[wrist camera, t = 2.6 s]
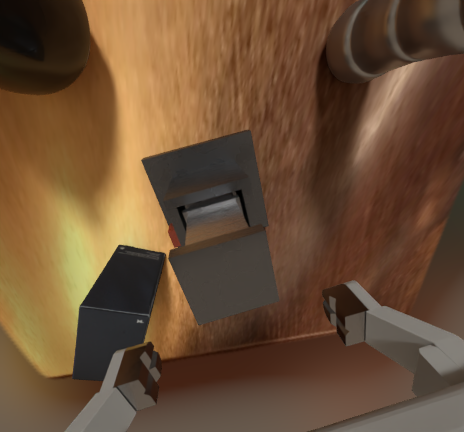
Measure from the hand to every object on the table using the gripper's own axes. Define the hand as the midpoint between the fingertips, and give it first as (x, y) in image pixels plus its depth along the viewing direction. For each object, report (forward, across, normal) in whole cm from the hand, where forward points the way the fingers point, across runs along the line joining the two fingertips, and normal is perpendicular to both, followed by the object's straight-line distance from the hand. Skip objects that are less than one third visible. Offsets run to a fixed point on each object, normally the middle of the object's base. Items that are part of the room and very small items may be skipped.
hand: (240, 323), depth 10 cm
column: (+18, 0, 0) cm, 18 cm away
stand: (+19, 0, 0) cm, 19 cm away
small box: (+19, +14, +9) cm, 25 cm away
